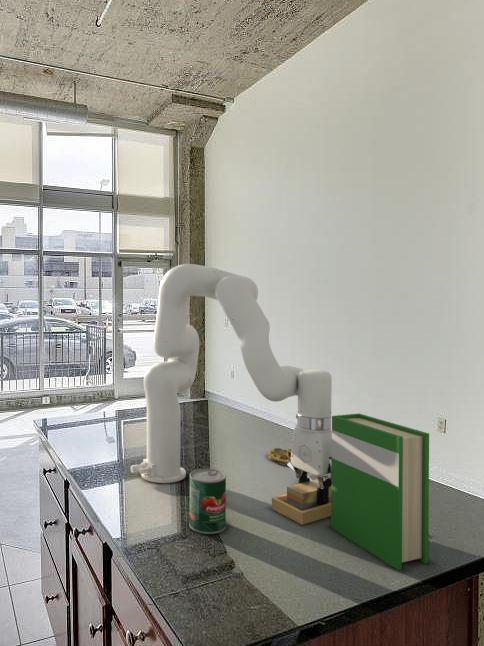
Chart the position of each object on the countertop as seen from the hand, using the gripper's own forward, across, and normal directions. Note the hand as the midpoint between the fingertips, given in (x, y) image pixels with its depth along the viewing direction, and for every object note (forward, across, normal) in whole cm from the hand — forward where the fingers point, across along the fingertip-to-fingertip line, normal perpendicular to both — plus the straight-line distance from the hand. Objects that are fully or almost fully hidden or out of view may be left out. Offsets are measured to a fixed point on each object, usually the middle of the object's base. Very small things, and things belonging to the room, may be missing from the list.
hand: (313, 498), depth 113 cm
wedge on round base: (+2, -12, +14) cm, 19 cm away
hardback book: (+2, +18, -2) cm, 18 cm away
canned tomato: (+3, -5, -27) cm, 27 cm away
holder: (+2, 0, 0) cm, 2 cm away
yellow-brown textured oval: (+3, -30, +20) cm, 36 cm away
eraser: (0, 0, 0) cm, 0 cm away
